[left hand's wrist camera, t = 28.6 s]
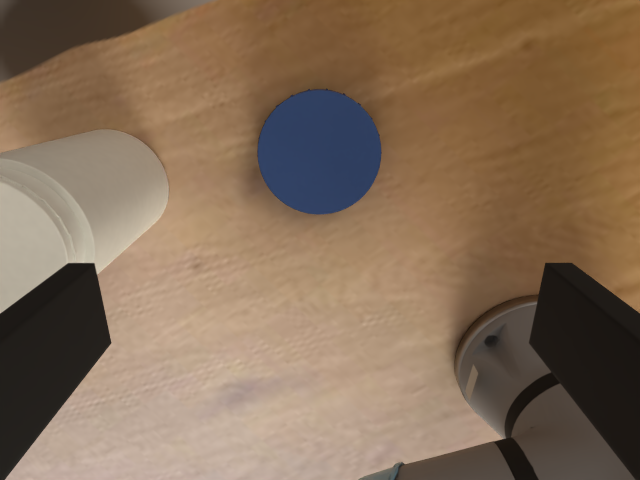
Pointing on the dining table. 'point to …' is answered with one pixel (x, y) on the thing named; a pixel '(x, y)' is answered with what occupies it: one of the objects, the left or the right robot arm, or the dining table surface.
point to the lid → (319, 151)
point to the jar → (74, 205)
